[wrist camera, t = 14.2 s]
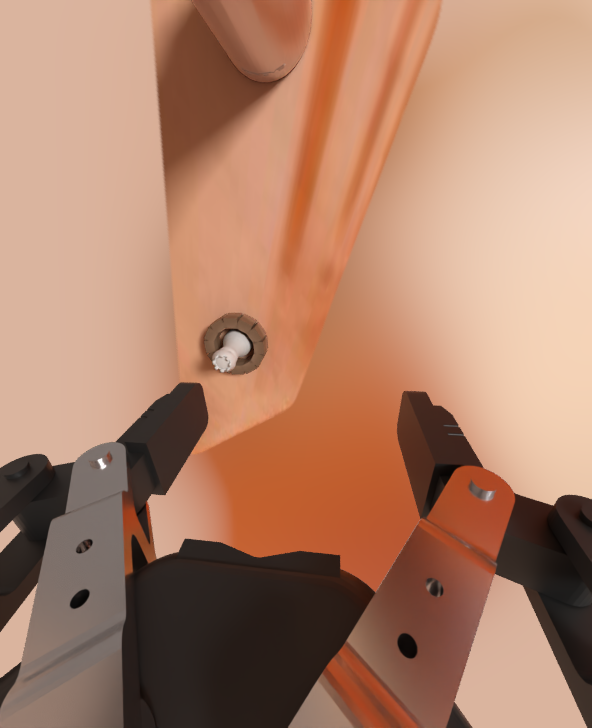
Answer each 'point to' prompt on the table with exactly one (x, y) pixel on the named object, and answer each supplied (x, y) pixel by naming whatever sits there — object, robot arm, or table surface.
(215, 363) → the rook chess piece
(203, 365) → the table surface
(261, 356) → the walnut ring bead
